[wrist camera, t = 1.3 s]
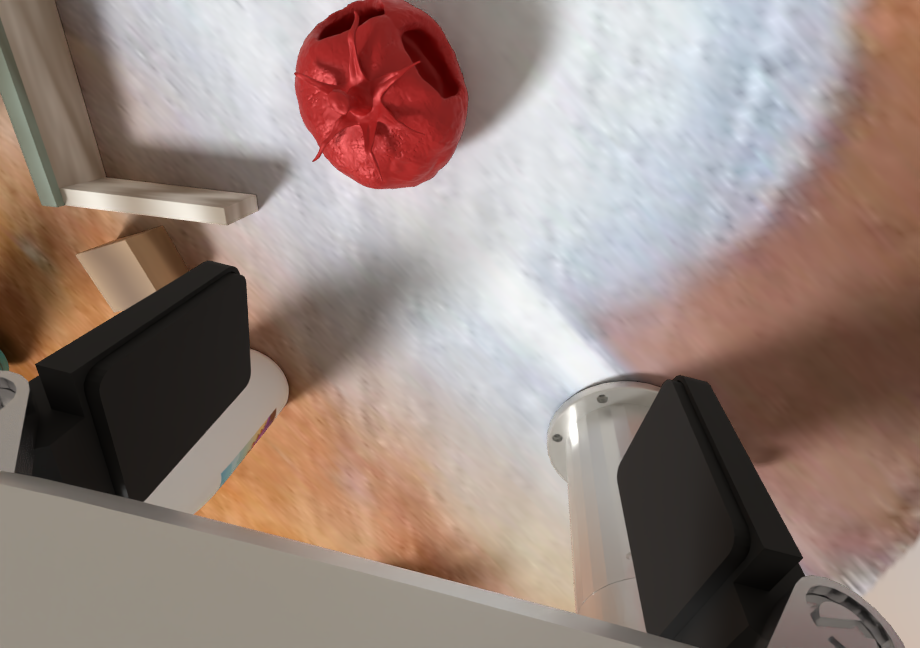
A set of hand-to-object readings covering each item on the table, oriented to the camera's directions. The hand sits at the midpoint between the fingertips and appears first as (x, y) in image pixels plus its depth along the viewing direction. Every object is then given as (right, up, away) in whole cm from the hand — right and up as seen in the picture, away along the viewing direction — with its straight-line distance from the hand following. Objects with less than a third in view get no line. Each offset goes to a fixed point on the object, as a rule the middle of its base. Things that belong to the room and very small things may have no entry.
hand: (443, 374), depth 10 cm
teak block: (-25, +7, +28) cm, 39 cm away
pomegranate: (-4, +16, +20) cm, 25 cm away
